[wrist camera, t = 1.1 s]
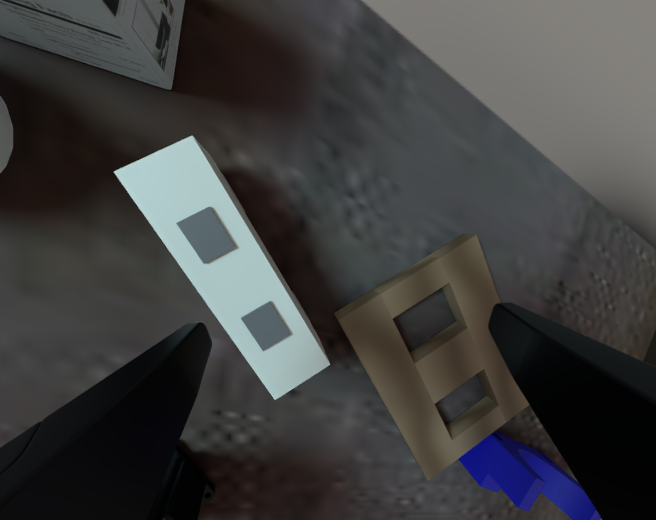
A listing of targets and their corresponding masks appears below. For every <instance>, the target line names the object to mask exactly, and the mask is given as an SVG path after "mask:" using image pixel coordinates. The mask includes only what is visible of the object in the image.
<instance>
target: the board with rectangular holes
mask: <svg viewBox="0 0 656 520" xmlns="http://www.w3.org/2000/svg"><path fill="white" fill-rule="evenodd" d="M440 288H442V289H443V292H444V294H445V297H446V299H447V302H448V304H449V306H450V309H451V311H452V314H453V316H454V318H455V321H456V322H454V323H453V324H451V325H450V326H448V327H447V328H445V329H444V330H442V331H441V332H439V333H438V334H436V335H435V336H433V337H432V338H430V339H429V340H427V341H426V342H424V343H423V344H421V345H420V346H418V347H417V348H415V349H414V350H412V351H411V352H409V351H408V349H407V347H406V345H405V343H404V341H403V339H402V337H401V335H400V333H399V331H398V329H397V327H396V325H395V323H394V321H393V318H394V317H396V316H398V315H399V314H401V313H402V312H404V311H405V310H407V309H409V308H410V307H412V306H413V305H415V304H416V303H418V302H420V301H421V300H423V299H424V298H426V297H428V296H429V295H431V294H432V293H434V292H435V291H437V290H439V289H440ZM497 303H500V300H499V298H498V295H497V292H496V289H495V286H494V283H493V280H492V278H491V275H490V272H489V269H488V266H487V263H486V260H485V258H484V255H483V252H482V249H481V246H480V243H479V240H478V238H477V235H467V234H463V235H461V236H460V237H458V238H456V239H455V240H453V241H451V242H450V243H448V244H447V245H445V246H443V247H442V248H440V249H438V250H437V251H435V252H433V253H432V254H430V255H428V256H427V257H425V258H424V259H422V260H420V261H419V262H417V263H415V264H414V265H412V266H410V267H409V268H407V269H405V270H404V271H402V272H400V273H399V274H397V275H396V276H394V277H392V278H391V279H389V280H387V281H386V282H384V283H382V284H381V285H379V286H377V287H376V288H374V289H373V290H371V291H369V292H368V293H366V294H364V295H363V296H361V297H359V298H358V299H356V300H354V301H353V302H351V303H350V304H348V305H346V306H345V307H343V308H341V309H340V310H338V311H336V312H335V313H334V315H335V317H336V319H337V320H338V322H339V324H340V326H341V327H342V329H343V331H344V333H345V335H346V336H347V338H348V340H349V342H350V344H351V345H352V347H353V349H354V351H355V352H356V354H357V356H358V358H359V360H360V361H361V363H362V365H363V367H364V368H365V370H366V372H367V374H368V376H369V377H370V379H371V381H372V383H373V385H374V386H375V388H376V390H377V392H378V393H379V395H380V397H381V399H382V401H383V402H384V404H385V406H386V408H387V410H388V411H389V413H390V415H391V417H392V418H393V420H394V422H395V424H396V426H397V427H398V429H399V431H400V433H401V435H402V436H403V438H404V440H405V442H406V443H407V445H408V447H409V449H410V451H411V452H412V454H413V456H414V458H415V460H416V461H417V463H418V465H419V467H420V468H421V470H422V472H423V473H424V475H425V477H426V478H427V480H428V481H429V480H431V479H432V478H433V477H435V476H436V475H437V474H439V473H440V472H441V471H443V470H444V469H445V468H447V467H448V466H449V465H451V464H452V463H453V462H455V461H456V460H457V459H458V458H460V457H461V456H462V455H464V454H465V453H466V452H468V451H469V450H470V449H472V448H473V447H474V446H476V445H477V444H478V443H480V442H481V441H482V440H484V439H485V438H486V437H488V436H489V435H490V434H492V433H493V432H494V431H496V430H497V429H498V428H500V427H501V426H502V425H504V424H505V423H506V422H507V421H509V420H510V419H511V418H513V417H514V416H515V415H517V414H518V413H519V412H521V411H522V410H523V409H525V408H526V407H527V406H529V403H528V402H527V400H526V398H525V397H524V395H523V394H522V392H521V391H520V389H519V387H518V386H517V384H516V382H515V381H514V379H513V377H512V375H511V373H510V372H509V370H508V368H507V366H506V364H505V362H504V360H503V358H502V356H501V354H500V352H499V350H498V348H497V346H496V344H495V342H494V340H493V338H492V336H491V334H490V332H489V329H488V323H489V319H490V316H491V313H492V309H493V307H494V305H495V304H497ZM476 374H478V376H479V379H480V381H481V384H482V386H483V389H484V391H485V393H486V396H485V397H484V398H482V399H481V400H480V401H478V402H477V403H475V404H474V405H473V406H471V407H470V408H469V409H467V410H466V411H464V412H463V413H462V414H460V415H459V416H458V417H456V418H455V419H453V420H452V421H451V422H449V423H448V424H446V425H444V423H443V421H442V419H441V417H440V415H439V413H438V411H437V409H436V406H435V403H437V402H438V401H439V400H441V399H442V398H444V397H445V396H446V395H448V394H449V393H451V392H452V391H453V390H455V389H456V388H458V387H459V386H461V385H462V384H463V383H465V382H466V381H468V380H469V379H470V378H472V377H473V376H475V375H476Z"/></svg>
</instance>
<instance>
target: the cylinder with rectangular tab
mask: <svg viewBox="0 0 656 520" xmlns="http://www.w3.org/2000/svg"><path fill="white" fill-rule="evenodd" d="M12 149H13V125H12V122H11V119H10V116H9V112H8V109H7V106H6V104H5V102H4V101H3V99H2V97H1V96H0V173H1V172H2V171H3V170H4V169H5V167H6V166H7V163H8V160H9V158H10V155H11V152H12Z"/></svg>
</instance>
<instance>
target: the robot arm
mask: <svg viewBox="0 0 656 520" xmlns="http://www.w3.org/2000/svg"><path fill="white" fill-rule="evenodd" d="M488 329H489V332H490V334H491V336H492V338H493V340H494V342H495V344H496V346H497V348H498V350H499V352H500V354H501V356H502V358H503V360H504V362H505V364H506V366H507V368H508V370H509V372H510V373H511V375H512V377H513V379H514V381H515V382H516V384H517V386H518V387H519V389H520V391H521V392H522V394H523V395H524V397H525V398H526V400H527V402H528V403H529V405H530V406H531V408H532V410H533V411H534V413H535V414H536V416H537V417H538V419H539V421H540V422H541V424H542V425H543V427H544V428H545V430H546V432H547V433H548V435H549V436H550V438H551V440H552V441H553V443H554V444H555V446H556V447H557V449H558V451H559V452H560V454H561V455H562V457H563V459H564V460H565V462H566V463H567V465H568V466H569V468H570V470H571V471H572V473H573V474H574V476H575V477H576V479H577V481H578V482H579V484H580V485H581V487H582V489H583V490H584V492H585V493H586V495H587V496H588V498H589V500H590V501H591V503H592V504H593V506H594V508H595V509H596V511H597V512H598V514H599V515H600V517H601V519H602V520H656V367H654V366H652V365H650V364H648V363H645V362H643V361H641V360H639V359H636V358H634V357H632V356H630V355H627V354H625V353H623V352H621V351H618V350H616V349H614V348H612V347H609V346H607V345H605V344H603V343H600V342H598V341H596V340H594V339H591V338H589V337H587V336H585V335H583V334H580V333H578V332H576V331H574V330H571V329H569V328H567V327H565V326H562V325H560V324H558V323H556V322H553V321H551V320H549V319H547V318H544V317H542V316H540V315H538V314H535V313H533V312H531V311H529V310H526V309H524V308H522V307H520V306H517V305H515V304H513V303H497V304H495V305H494V307H493V309H492V313H491V316H490V319H489V323H488ZM211 348H212V340H211V337H210V335H209V332H208V330H207V328H206V325H205V324H204V323H203V322H190V323H187V324H186V325H184V326H183V327H181V328H180V329H178V330H177V331H175V332H174V333H172V334H171V335H169V336H168V337H166V338H165V339H163V340H162V341H160V342H159V343H157V344H156V345H154V346H153V347H151V348H150V349H148V350H147V351H145V352H144V353H142V354H141V355H139V356H138V357H136V358H135V359H133V360H132V361H130V362H129V363H127V364H126V365H124V366H123V367H121V368H120V369H118V370H117V371H115V372H114V373H112V374H111V375H109V376H108V377H106V378H105V379H103V380H102V381H100V382H99V383H97V384H96V385H94V386H93V387H91V388H90V389H88V390H87V391H85V392H84V393H82V394H81V395H79V396H78V397H76V398H75V399H73V400H72V401H70V402H69V403H67V404H66V405H64V406H63V407H61V408H60V409H58V410H57V411H55V412H54V413H52V414H51V415H49V416H48V417H46V418H45V419H44V420H43V421H42V422H38V423H37V424H35V425H34V426H32V427H31V428H29V429H28V430H26V431H25V432H23V433H22V434H20V435H19V436H17V437H16V438H14V439H13V440H11V441H10V442H8V443H7V444H5V445H4V446H2V447H1V448H0V520H197V518H198V514H199V510H200V507H201V506H202V505H204V504H205V503H207V502H208V501H210V500H211V499H212V498H213V497H214V494H215V487H214V486H213V484H212V483H211V482H210V481H209V480H208V479H207V478H206V477H205V476H204V474H203V473H202V472H201V471H200V470H199V469H198V468H197V467H196V466H195V464H194V463H193V462H192V461H191V460H190V459H189V458H188V457H187V456H186V454H185V453H184V452H183V451H182V450H181V449H180V448H179V447H178V445H177V444H178V441H179V439H180V436H181V434H182V432H183V429H184V427H185V424H186V422H187V419H188V417H189V415H190V412H191V410H192V407H193V405H194V402H195V400H196V397H197V394H198V391H199V388H200V385H201V382H202V378H203V375H204V372H205V368H206V365H207V362H208V358H209V355H210V352H211Z"/></svg>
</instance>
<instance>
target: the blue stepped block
mask: <svg viewBox="0 0 656 520" xmlns="http://www.w3.org/2000/svg"><path fill="white" fill-rule="evenodd" d="M459 460H460V461H461V463H462V464H463V465H464V466H465V468H466V469H467V470H468V471H469V473H470V474H471V475H472V476H473V478H474V479H475V480H476V481H477V483H478V484H479V485H480V486H481V487H484V488H487V489H489V490H492V491H495V492H498V491H499V489H500V488H501V489H502V490H503V491H504V492H505V493H506V494H507V496H508V497H509V498H510V499H511V500H512V501H513V502H514V504H515V505H516V506H517V507H518V508H520V509H523V510H526V511H529V510H530V508H531V506H532V505H533V503H534V502H535V500H536V498H537V497H538V495H539V493H540V492H541V493H542V494H544V495H545V496H546V497H547V498H549V499H550V500H551V501H552V502H553V503H555V504H556V505H557V506H558V507H559V508H560V509H561V510H563V511H564V512H565V513H566V514H567V515H568V516H569V517H570V518H571V519H572V520H600V519H601V517H600V515H599V514H598V512H597V511H596V509H595V508H594V506H593V504H592V503H591V501H590V500H589V498H588V496H587V495H586V493H585V492H584V490H583V489H582V487H581V485H580V484H579V483H578V482H577V481H575V480H574V479H573V478H572V477H571V476H570V475H568V474H567V473H566V472H565V471H564V470H562V469H561V468H560V467H559V466H558V465H557V464H555V463H554V462H553V461H552V460H551V459H549V458H548V457H547V456H546V455H545V454H543V453H541V452H539V451H537V450H534V449H532V448H530V447H528V446H526V445H524V444H522V443H519V442H517V441H515V440H513V439H511V438H509V437H506V436H504V435H502V434H500V433H498V432H496V431H494V432H493V433H492V434H490V435H489V436H488V437H486V438H485V439H484V440H482V441H481V442H480V443H478V444H477V445H476V446H474V447H473V448H472V449H470V450H469V451H468V452H466V453H465V454H464V455H462V456H461V457H460V458H459Z"/></svg>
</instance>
